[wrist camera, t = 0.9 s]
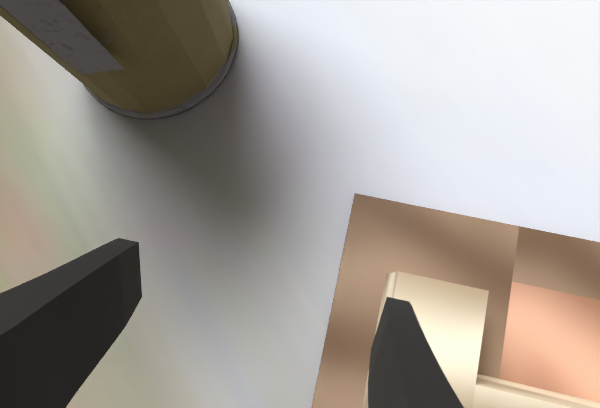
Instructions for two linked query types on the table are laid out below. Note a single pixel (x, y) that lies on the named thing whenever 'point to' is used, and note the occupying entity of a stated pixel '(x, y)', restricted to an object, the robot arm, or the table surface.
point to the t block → (464, 344)
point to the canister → (134, 48)
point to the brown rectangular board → (478, 274)
